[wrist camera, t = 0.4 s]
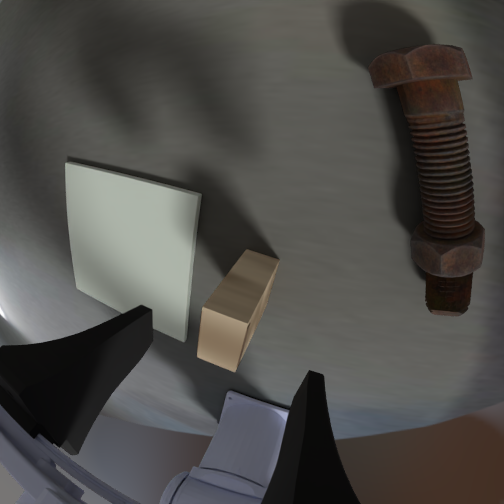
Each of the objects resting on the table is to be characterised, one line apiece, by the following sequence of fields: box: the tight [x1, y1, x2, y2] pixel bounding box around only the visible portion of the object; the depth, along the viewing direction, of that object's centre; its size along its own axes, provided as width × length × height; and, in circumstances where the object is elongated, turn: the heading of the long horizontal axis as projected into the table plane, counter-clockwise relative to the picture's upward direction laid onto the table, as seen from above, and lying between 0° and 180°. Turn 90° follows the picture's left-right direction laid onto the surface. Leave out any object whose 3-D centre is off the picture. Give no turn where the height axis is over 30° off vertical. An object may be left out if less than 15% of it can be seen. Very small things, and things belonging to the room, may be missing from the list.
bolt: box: [368, 44, 485, 316], centre depth 13 cm, size 6×5×15 cm
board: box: [65, 162, 202, 342], centre depth 24 cm, size 14×14×1 cm
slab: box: [197, 249, 279, 372], centre depth 18 cm, size 4×2×7 cm, turn 169°
